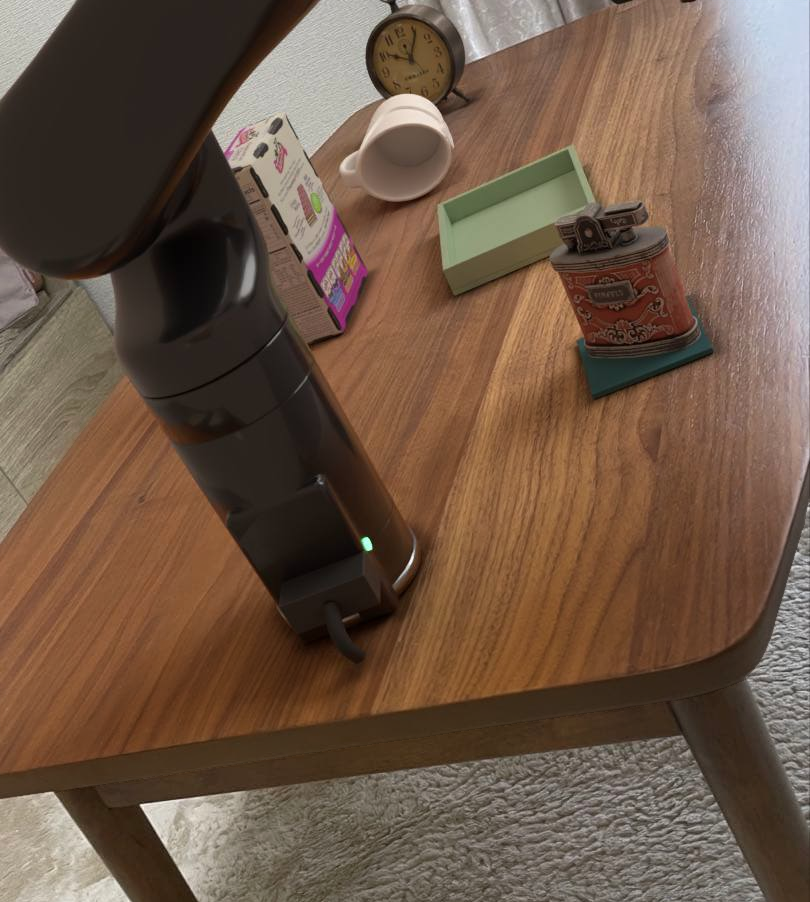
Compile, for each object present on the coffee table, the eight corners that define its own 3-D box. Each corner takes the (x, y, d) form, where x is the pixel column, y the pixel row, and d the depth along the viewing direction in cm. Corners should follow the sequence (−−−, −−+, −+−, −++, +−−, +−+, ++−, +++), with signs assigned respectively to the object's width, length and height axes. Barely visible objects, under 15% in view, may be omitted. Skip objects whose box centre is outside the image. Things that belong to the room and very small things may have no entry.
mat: (714, 352, 78) (712, 347, 78) (593, 399, 80) (591, 394, 80) (688, 300, 85) (687, 295, 84) (578, 344, 86) (576, 340, 86)
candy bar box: (323, 289, 116) (238, 128, 107) (370, 273, 114) (287, 107, 105) (293, 351, 107) (198, 182, 99) (344, 335, 105) (251, 160, 97)
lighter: (580, 362, 84) (526, 232, 78) (599, 333, 85) (548, 205, 80) (690, 352, 78) (641, 212, 73) (708, 321, 80) (661, 183, 75)
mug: (464, 148, 130) (434, 77, 126) (465, 180, 122) (432, 105, 118) (361, 193, 133) (328, 125, 129) (355, 227, 126) (320, 155, 121)
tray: (606, 231, 99) (596, 203, 98) (454, 296, 102) (442, 270, 101) (582, 169, 111) (572, 144, 110) (447, 228, 114) (436, 204, 113)
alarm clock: (392, 132, 146) (330, -2, 138) (408, 112, 150) (349, -20, 141) (473, 106, 140) (414, -36, 132) (487, 86, 144) (431, -54, 135)
